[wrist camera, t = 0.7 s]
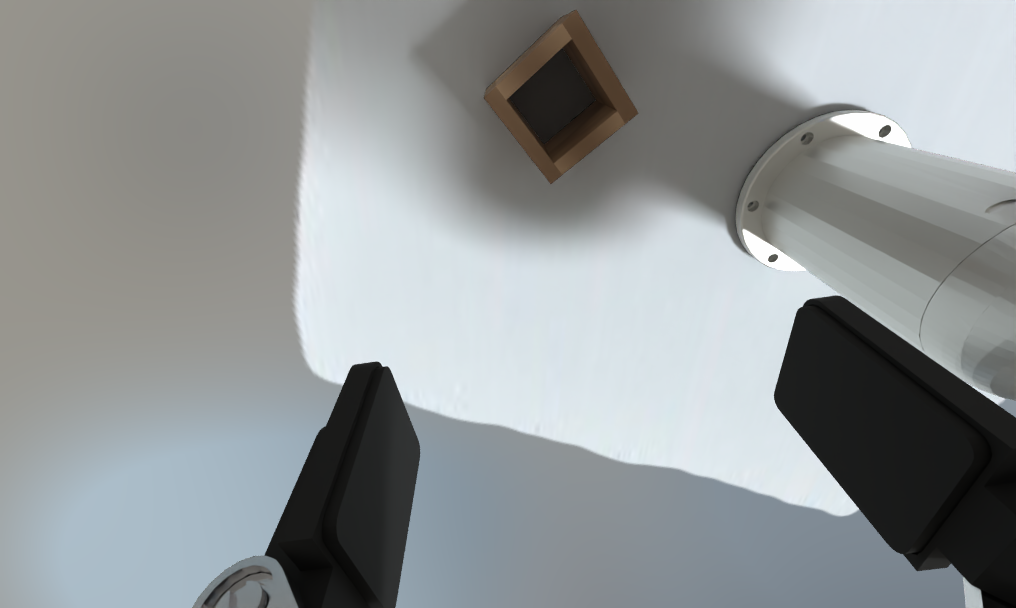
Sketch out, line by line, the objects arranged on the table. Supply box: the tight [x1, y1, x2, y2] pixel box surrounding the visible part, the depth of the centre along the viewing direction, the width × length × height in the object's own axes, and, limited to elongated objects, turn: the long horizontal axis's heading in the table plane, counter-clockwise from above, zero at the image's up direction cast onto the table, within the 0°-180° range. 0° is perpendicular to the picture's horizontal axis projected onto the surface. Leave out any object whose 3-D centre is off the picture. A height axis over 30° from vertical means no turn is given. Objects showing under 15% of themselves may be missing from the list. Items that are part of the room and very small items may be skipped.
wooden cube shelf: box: [484, 10, 638, 184], centre depth 26 cm, size 6×6×6 cm
